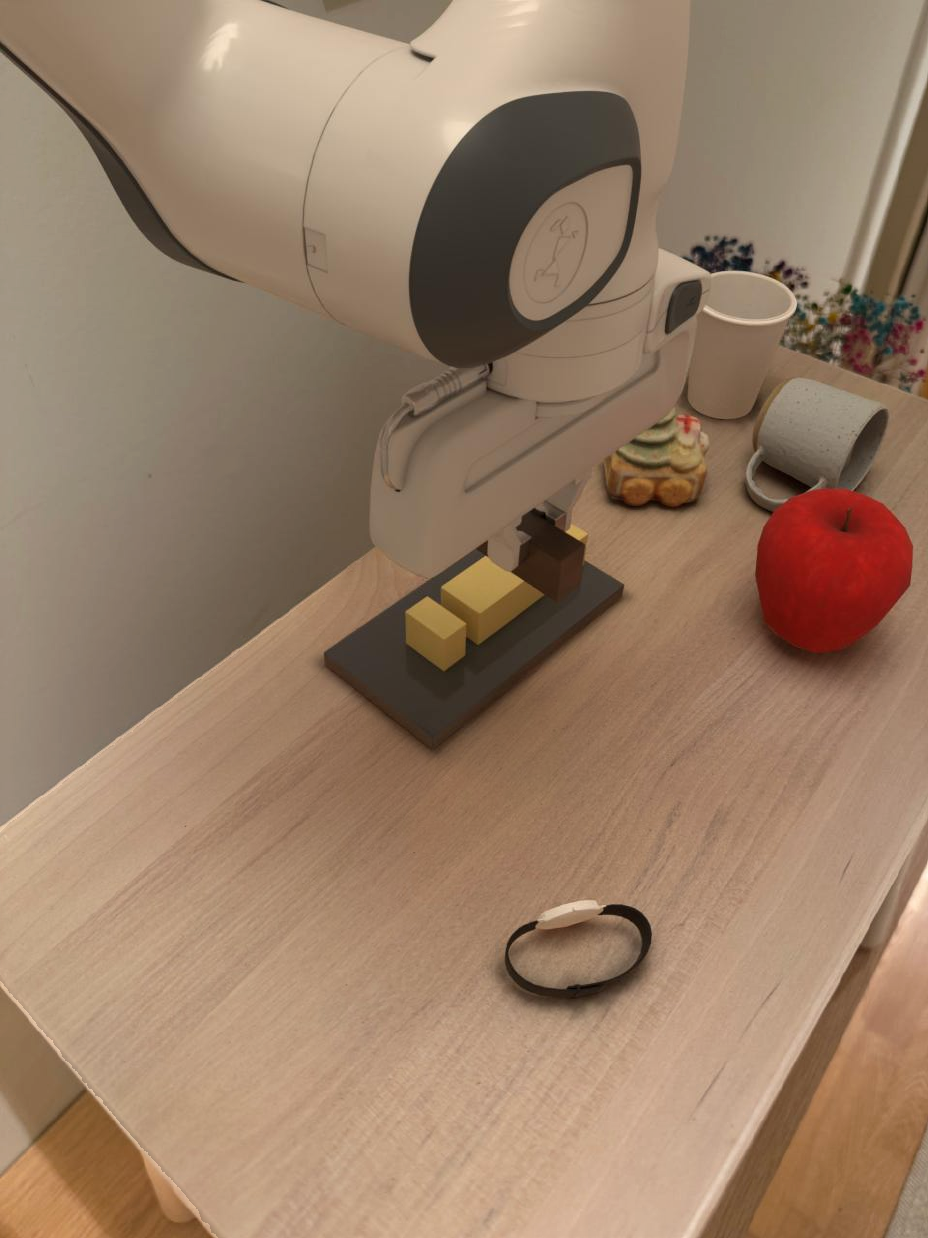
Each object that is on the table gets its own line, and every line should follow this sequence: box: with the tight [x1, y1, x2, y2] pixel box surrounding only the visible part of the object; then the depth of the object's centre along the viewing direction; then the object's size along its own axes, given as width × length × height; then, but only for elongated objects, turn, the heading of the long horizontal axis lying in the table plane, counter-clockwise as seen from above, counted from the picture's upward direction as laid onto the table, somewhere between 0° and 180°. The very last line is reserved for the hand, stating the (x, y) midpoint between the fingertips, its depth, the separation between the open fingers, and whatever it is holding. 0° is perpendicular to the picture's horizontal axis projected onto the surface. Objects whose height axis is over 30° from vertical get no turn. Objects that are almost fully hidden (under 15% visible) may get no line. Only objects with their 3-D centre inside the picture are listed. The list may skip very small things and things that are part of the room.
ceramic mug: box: [745, 376, 890, 513], centre depth 82 cm, size 11×8×8 cm
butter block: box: [441, 523, 589, 645], centre depth 72 cm, size 11×4×3 cm, turn 136°
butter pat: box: [405, 596, 466, 671], centre depth 68 cm, size 2×4×3 cm, turn 46°
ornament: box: [603, 406, 711, 508], centre depth 80 cm, size 8×6×10 cm
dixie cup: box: [687, 270, 798, 420], centre depth 89 cm, size 8×8×10 cm
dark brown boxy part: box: [476, 511, 585, 602], centre depth 59 cm, size 2×12×3 cm, turn 46°
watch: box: [504, 899, 653, 999], centre depth 54 cm, size 8×5×4 cm, turn 104°
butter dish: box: [323, 549, 625, 750], centre depth 72 cm, size 19×10×1 cm, turn 136°
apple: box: [754, 489, 914, 654], centre depth 69 cm, size 10×10×11 cm
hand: (529, 545), depth 58 cm, fingers closed on dark brown boxy part, 2 cm apart
